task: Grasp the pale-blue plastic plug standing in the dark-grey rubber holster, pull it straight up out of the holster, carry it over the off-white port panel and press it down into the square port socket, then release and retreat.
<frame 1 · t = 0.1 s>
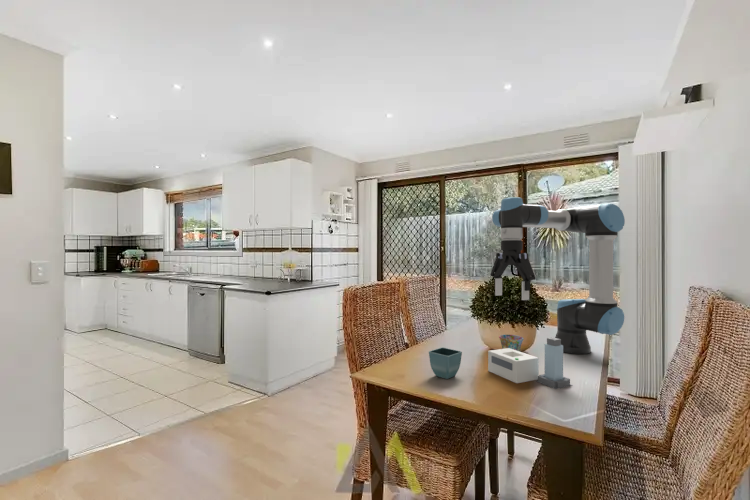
hand: (511, 297, 135), 28 cm above the table, fingers open, 13 cm apart
plug: (553, 383, 124), point 1 cm above the table, touching holster
port panel: (512, 376, 132), on the table
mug: (509, 363, 149), on the table
flower pot: (445, 376, 133), on the table
holster: (553, 384, 124), on the table
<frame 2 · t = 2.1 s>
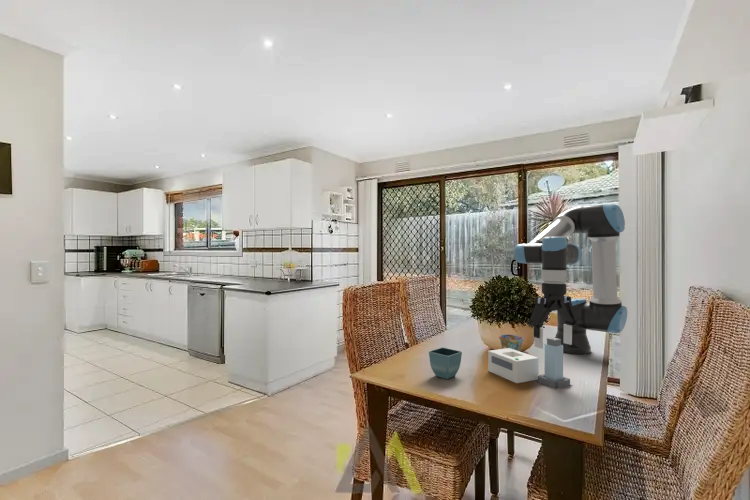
hand: (553, 345, 124), 13 cm above the table, fingers open, 13 cm apart
nothing on the table moved.
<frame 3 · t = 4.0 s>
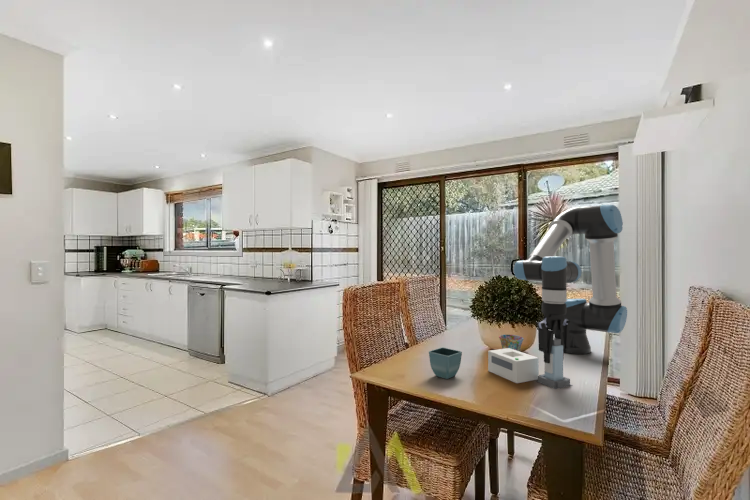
hand: (553, 371, 124), 5 cm above the table, fingers closed on plug, 4 cm apart
plug: (553, 383, 124), point 1 cm above the table, touching gripper, holster
everything else where it was.
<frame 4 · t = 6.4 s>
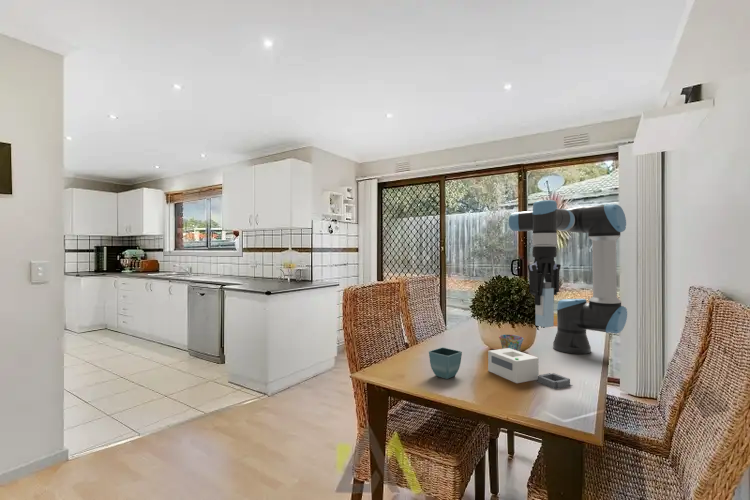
hand: (544, 314, 126), 24 cm above the table, fingers closed on plug, 4 cm apart
plug: (544, 325, 126), point 20 cm above the table, touching gripper
everything else where it was.
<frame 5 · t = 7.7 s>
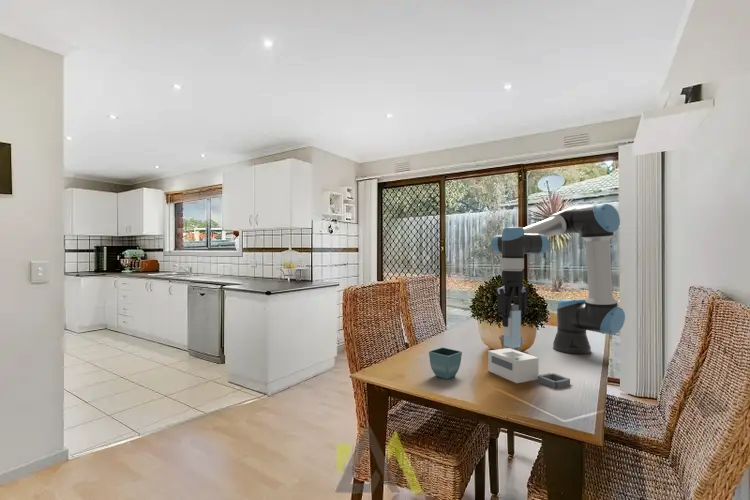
hand: (512, 335, 132), 15 cm above the table, fingers closed on plug, 4 cm apart
plug: (512, 346, 132), point 11 cm above the table, touching gripper
everything else where it was.
when the fingers open (10 cm above the table, at t = 8.9 s): plug stays where it is, resting on port panel.
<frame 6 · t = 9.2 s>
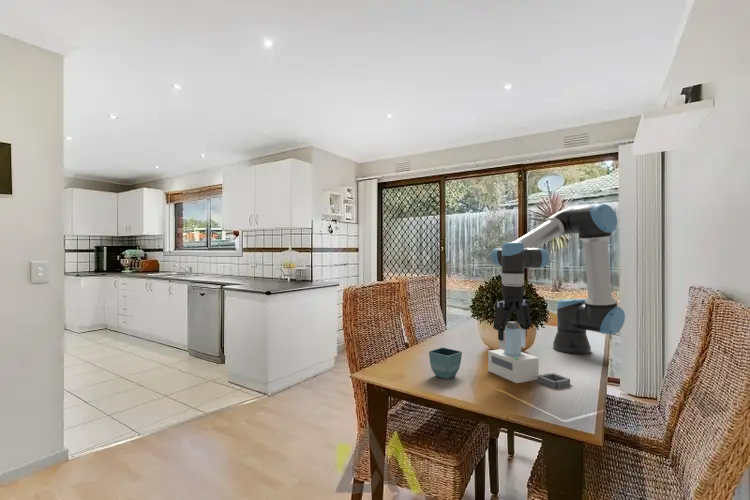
hand: (512, 347, 132), 10 cm above the table, fingers open, 8 cm apart
plug: (512, 363, 132), point 4 cm above the table, touching port panel
everything else where it was.
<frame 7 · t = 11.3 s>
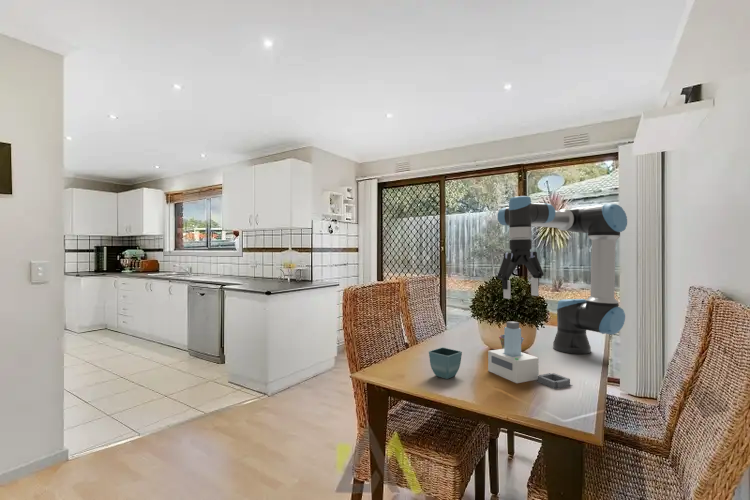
hand: (521, 297, 135), 28 cm above the table, fingers open, 13 cm apart
nothing on the table moved.
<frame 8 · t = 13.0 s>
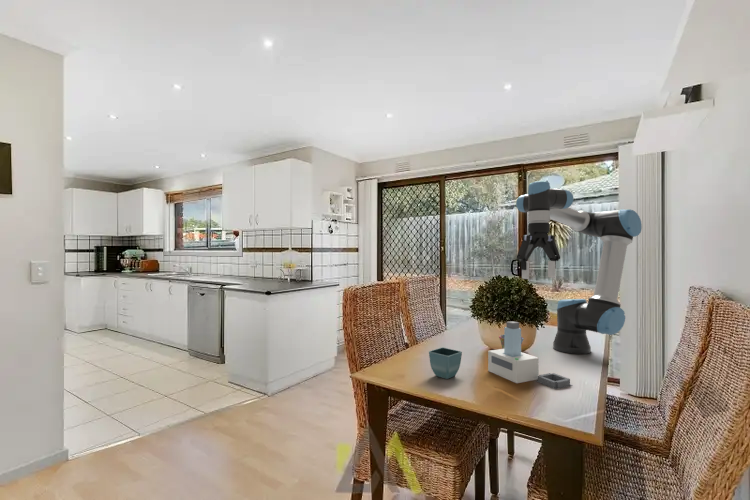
hand: (538, 278, 140), 35 cm above the table, fingers open, 13 cm apart
nothing on the table moved.
at the end: plug 0.0 cm off-centre on the port panel, point 4.5 cm above the port panel's base; plug tilted 0°; the gripper is holding nothing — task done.
